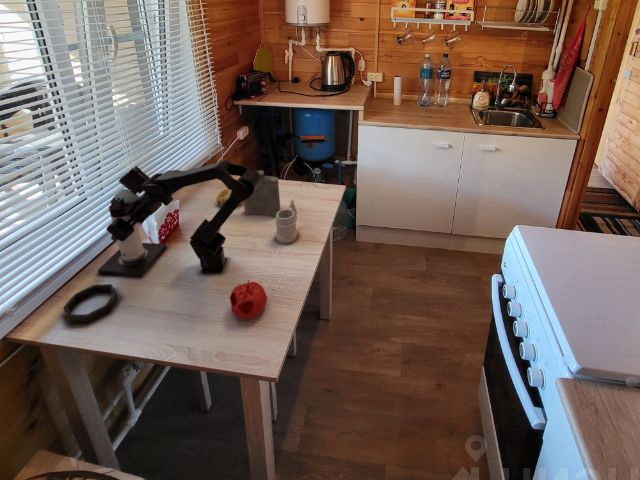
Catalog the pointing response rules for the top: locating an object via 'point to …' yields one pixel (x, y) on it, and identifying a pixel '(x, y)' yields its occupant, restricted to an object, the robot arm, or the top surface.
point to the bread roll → (224, 197)
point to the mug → (286, 224)
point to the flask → (264, 197)
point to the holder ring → (95, 314)
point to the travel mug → (133, 244)
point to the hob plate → (133, 262)
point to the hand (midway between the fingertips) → (122, 230)
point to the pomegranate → (248, 300)
